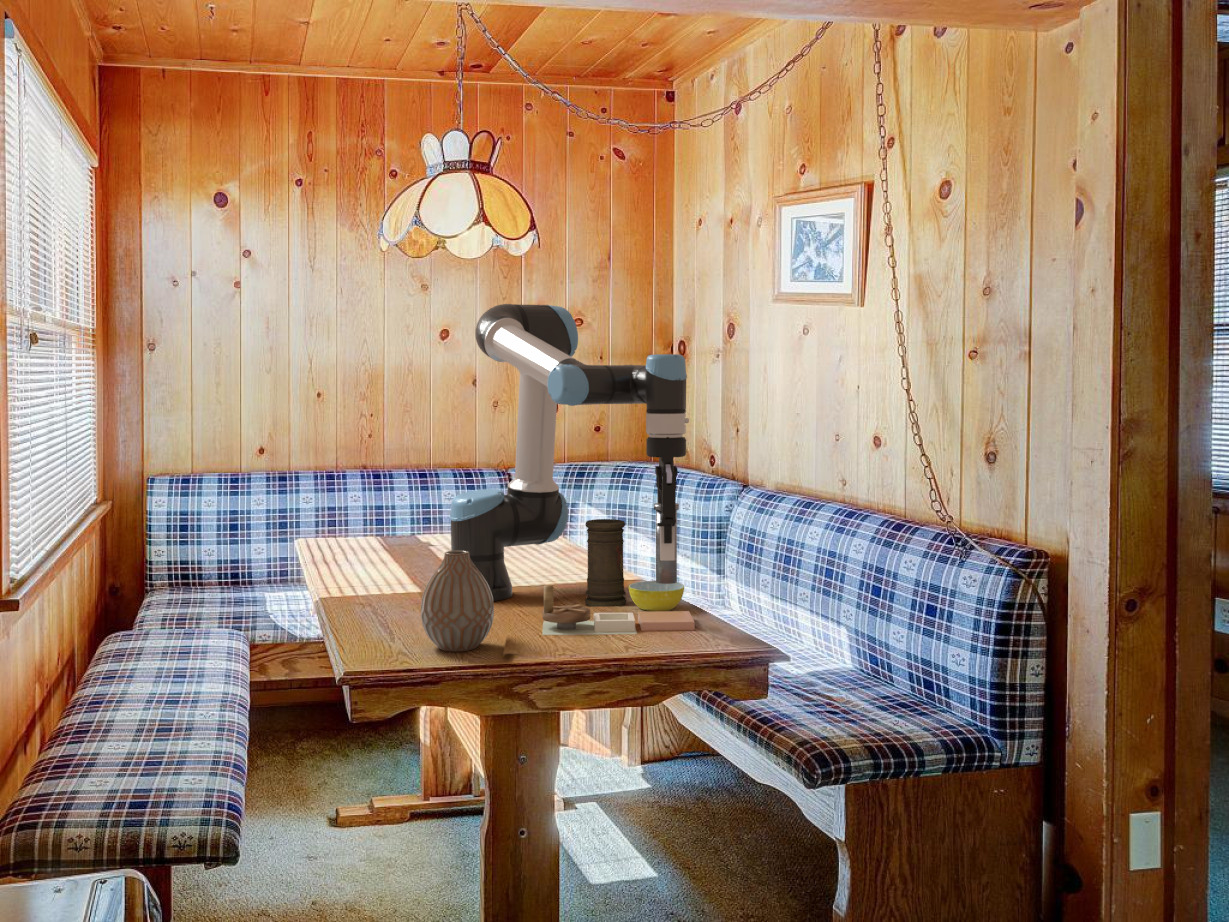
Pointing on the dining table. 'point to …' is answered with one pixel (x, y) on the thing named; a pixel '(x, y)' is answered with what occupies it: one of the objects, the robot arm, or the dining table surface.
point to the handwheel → (562, 610)
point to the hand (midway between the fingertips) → (666, 558)
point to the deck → (594, 625)
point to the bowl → (656, 595)
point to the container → (605, 563)
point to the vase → (457, 604)
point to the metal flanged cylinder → (664, 569)
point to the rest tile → (666, 620)
